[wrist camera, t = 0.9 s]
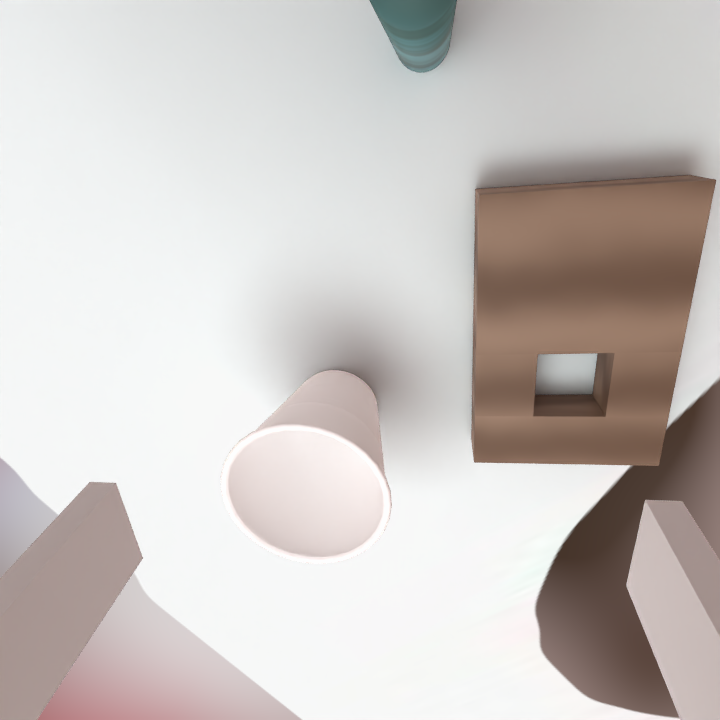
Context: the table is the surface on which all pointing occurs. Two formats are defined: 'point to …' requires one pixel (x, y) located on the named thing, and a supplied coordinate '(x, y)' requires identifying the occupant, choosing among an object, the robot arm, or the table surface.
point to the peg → (417, 30)
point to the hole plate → (582, 314)
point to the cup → (312, 473)
